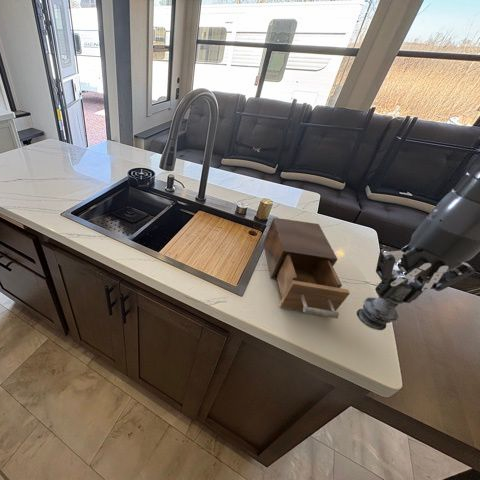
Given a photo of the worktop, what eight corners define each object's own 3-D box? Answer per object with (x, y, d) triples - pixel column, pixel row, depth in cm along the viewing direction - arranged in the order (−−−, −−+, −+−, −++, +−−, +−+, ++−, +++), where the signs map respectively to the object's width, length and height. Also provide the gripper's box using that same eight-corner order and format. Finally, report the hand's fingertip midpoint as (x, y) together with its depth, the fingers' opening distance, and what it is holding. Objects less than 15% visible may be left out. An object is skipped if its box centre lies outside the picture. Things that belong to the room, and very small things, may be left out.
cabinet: (319, 286, 72) (337, 259, 65) (270, 278, 74) (283, 250, 67) (304, 249, 85) (318, 223, 78) (263, 243, 87) (273, 217, 80)
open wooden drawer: (338, 333, 59) (359, 310, 54) (283, 323, 61) (298, 300, 55) (314, 272, 75) (328, 250, 70) (271, 265, 77) (281, 243, 71)
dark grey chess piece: (388, 336, 50) (430, 297, 43) (354, 321, 53) (389, 282, 46) (387, 316, 54) (425, 277, 47) (355, 303, 57) (387, 264, 50)
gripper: (424, 230, 37) (360, 305, 47) (538, 246, 35) (445, 320, 45) (396, 205, 43) (345, 277, 53) (492, 218, 41) (420, 289, 51)
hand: (392, 297), depth 49 cm, fingers closed on dark grey chess piece, 3 cm apart
